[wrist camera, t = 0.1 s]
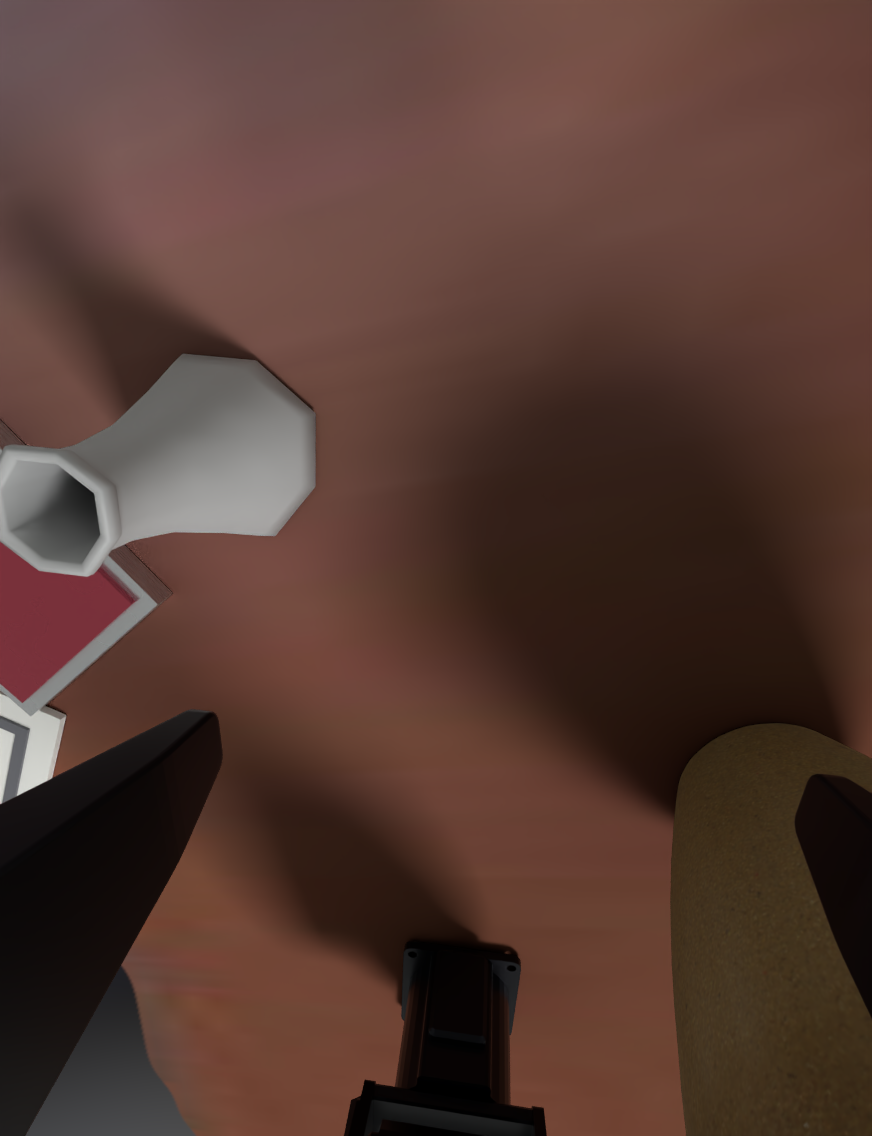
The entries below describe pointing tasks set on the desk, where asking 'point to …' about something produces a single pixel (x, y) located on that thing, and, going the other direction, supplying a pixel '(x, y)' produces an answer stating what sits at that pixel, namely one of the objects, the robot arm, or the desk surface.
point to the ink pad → (65, 617)
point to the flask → (164, 468)
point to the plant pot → (762, 947)
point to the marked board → (27, 747)
